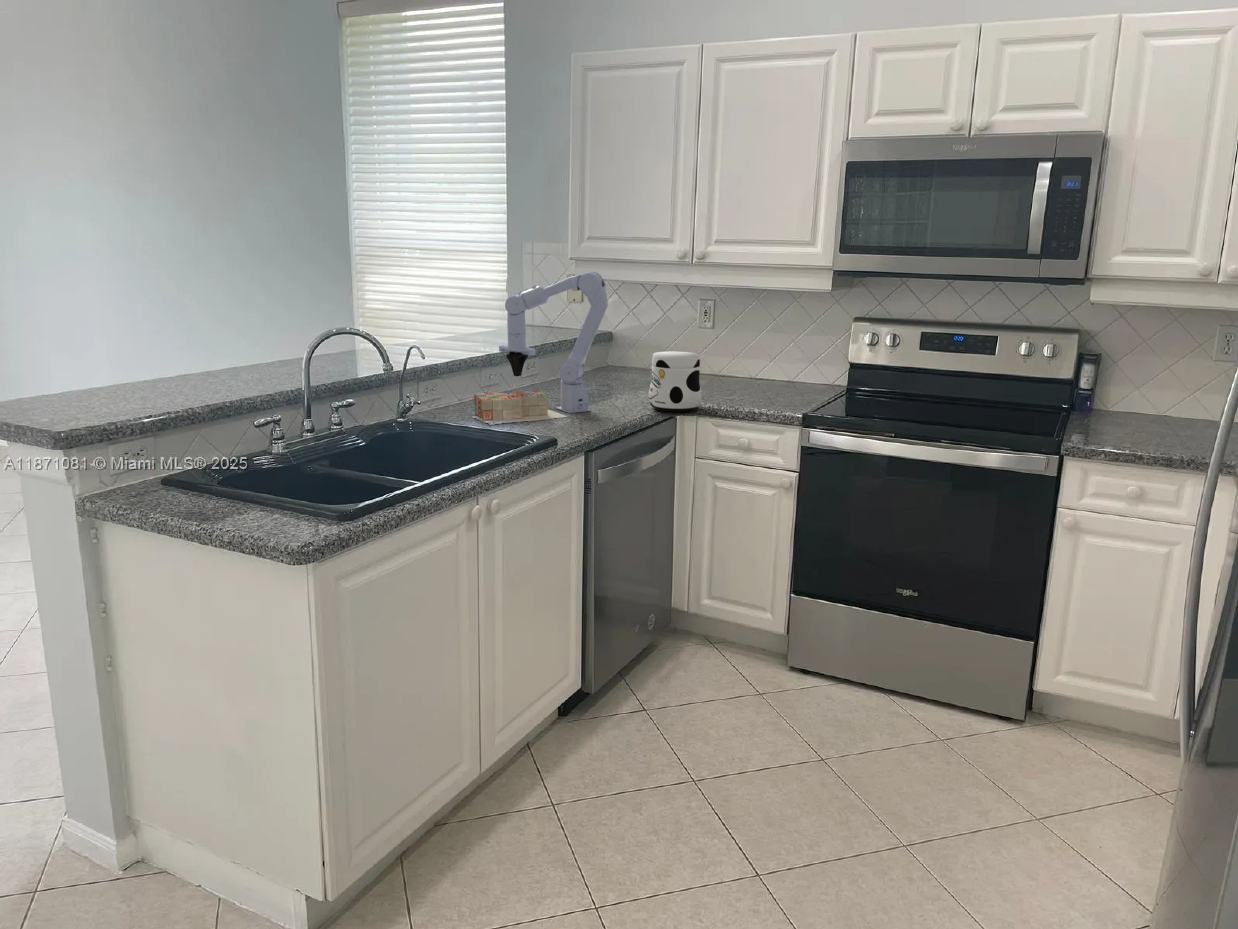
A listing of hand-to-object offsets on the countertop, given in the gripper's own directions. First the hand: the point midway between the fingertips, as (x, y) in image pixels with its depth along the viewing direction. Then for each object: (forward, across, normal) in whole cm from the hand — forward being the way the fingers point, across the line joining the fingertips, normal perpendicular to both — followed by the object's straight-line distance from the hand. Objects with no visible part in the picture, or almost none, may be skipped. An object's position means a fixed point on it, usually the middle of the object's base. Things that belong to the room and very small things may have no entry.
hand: (517, 375), depth 291 cm
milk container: (+11, -40, -32) cm, 52 cm away
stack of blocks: (+7, -3, +8) cm, 11 cm away
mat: (+10, -12, +11) cm, 19 cm away
